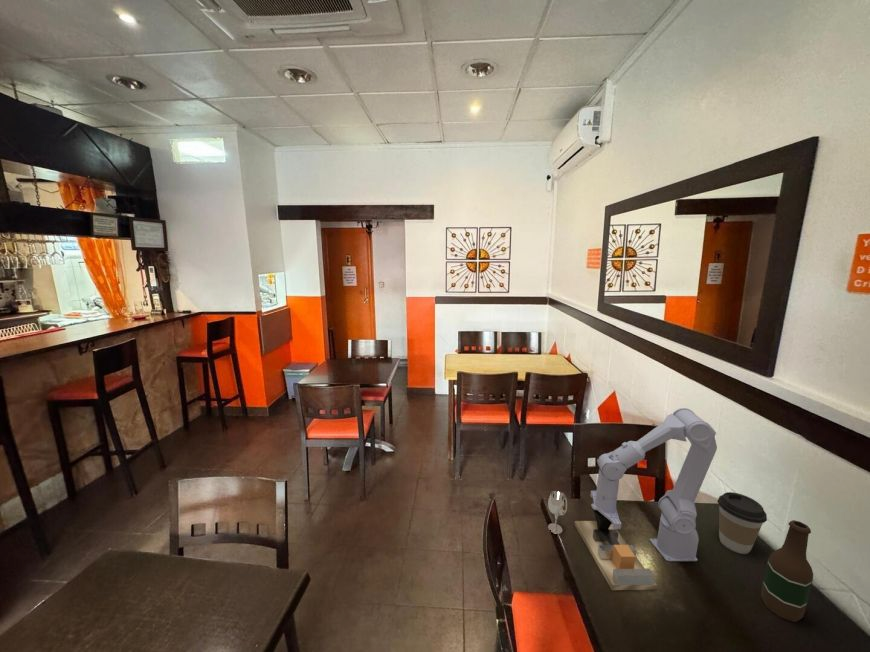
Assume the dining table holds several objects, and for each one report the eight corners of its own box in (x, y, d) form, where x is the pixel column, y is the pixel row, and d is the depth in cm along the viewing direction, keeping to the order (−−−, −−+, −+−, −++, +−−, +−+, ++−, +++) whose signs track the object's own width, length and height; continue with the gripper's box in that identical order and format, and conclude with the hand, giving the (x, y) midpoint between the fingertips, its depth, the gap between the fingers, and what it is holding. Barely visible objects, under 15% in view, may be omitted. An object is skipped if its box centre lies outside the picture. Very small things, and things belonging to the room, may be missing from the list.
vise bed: (609, 524, 113) (610, 520, 113) (656, 589, 91) (656, 584, 90) (574, 525, 113) (574, 521, 112) (612, 590, 90) (612, 585, 90)
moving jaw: (619, 537, 106) (620, 529, 105) (635, 559, 98) (636, 550, 97) (587, 537, 106) (588, 529, 105) (601, 559, 98) (602, 550, 97)
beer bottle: (751, 592, 90) (768, 512, 86) (781, 594, 90) (800, 513, 86) (779, 622, 83) (800, 536, 78) (812, 624, 82) (835, 537, 78)
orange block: (633, 572, 94) (635, 556, 93) (619, 572, 94) (621, 556, 93) (625, 560, 98) (627, 544, 97) (611, 559, 98) (613, 544, 97)
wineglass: (561, 522, 114) (565, 490, 112) (566, 536, 108) (570, 502, 106) (544, 521, 114) (547, 489, 112) (548, 534, 108) (551, 500, 106)
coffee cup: (726, 527, 113) (734, 486, 111) (768, 554, 103) (778, 510, 100) (702, 535, 110) (709, 493, 107) (743, 564, 99) (752, 518, 96)
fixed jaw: (648, 578, 92) (649, 568, 92) (653, 584, 90) (654, 575, 90) (612, 578, 92) (613, 568, 91) (616, 585, 90) (617, 575, 89)
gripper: (583, 478, 111) (579, 515, 114) (606, 509, 97) (601, 551, 99) (604, 478, 112) (599, 515, 114) (630, 509, 97) (624, 551, 100)
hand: (602, 532), depth 107 cm, fingers closed
